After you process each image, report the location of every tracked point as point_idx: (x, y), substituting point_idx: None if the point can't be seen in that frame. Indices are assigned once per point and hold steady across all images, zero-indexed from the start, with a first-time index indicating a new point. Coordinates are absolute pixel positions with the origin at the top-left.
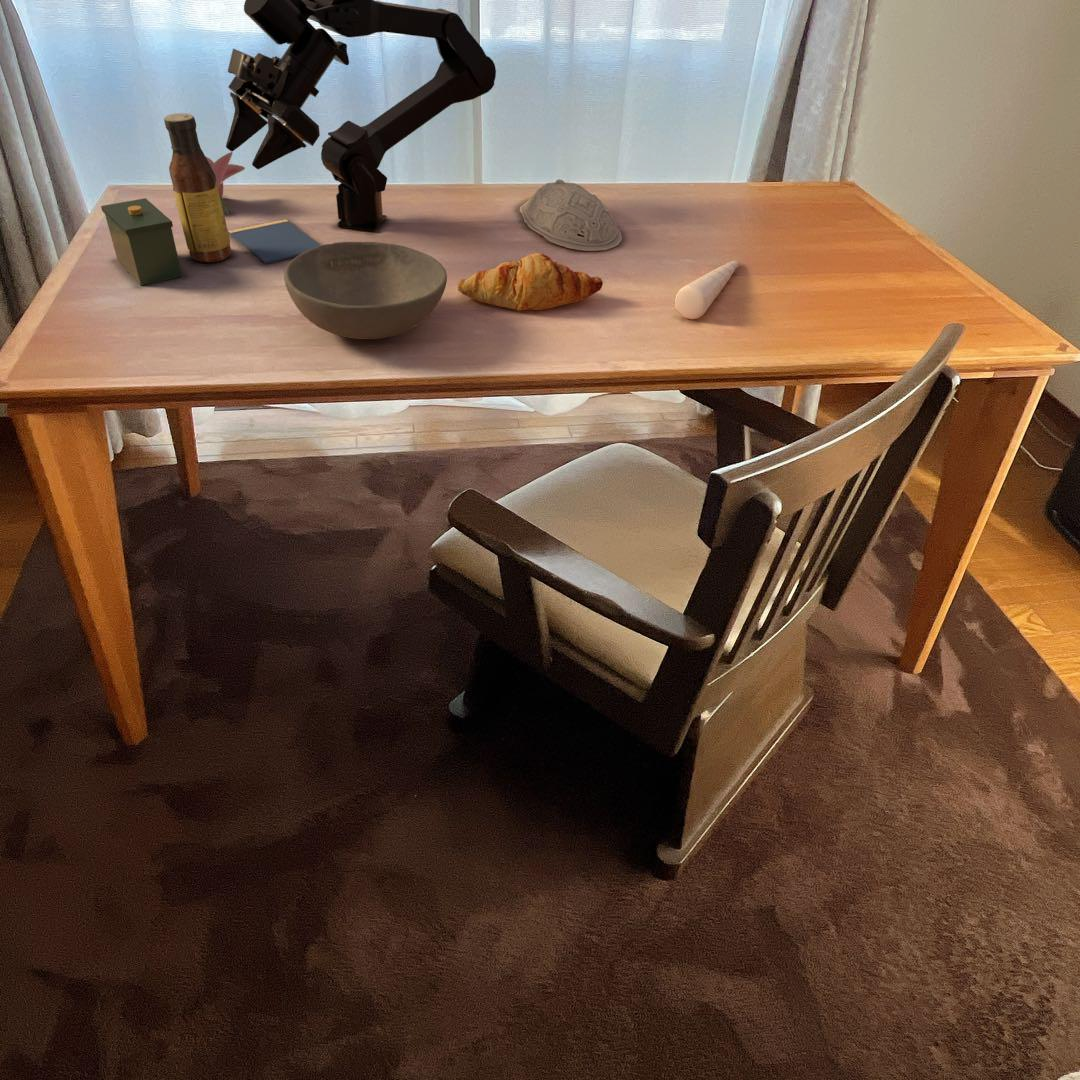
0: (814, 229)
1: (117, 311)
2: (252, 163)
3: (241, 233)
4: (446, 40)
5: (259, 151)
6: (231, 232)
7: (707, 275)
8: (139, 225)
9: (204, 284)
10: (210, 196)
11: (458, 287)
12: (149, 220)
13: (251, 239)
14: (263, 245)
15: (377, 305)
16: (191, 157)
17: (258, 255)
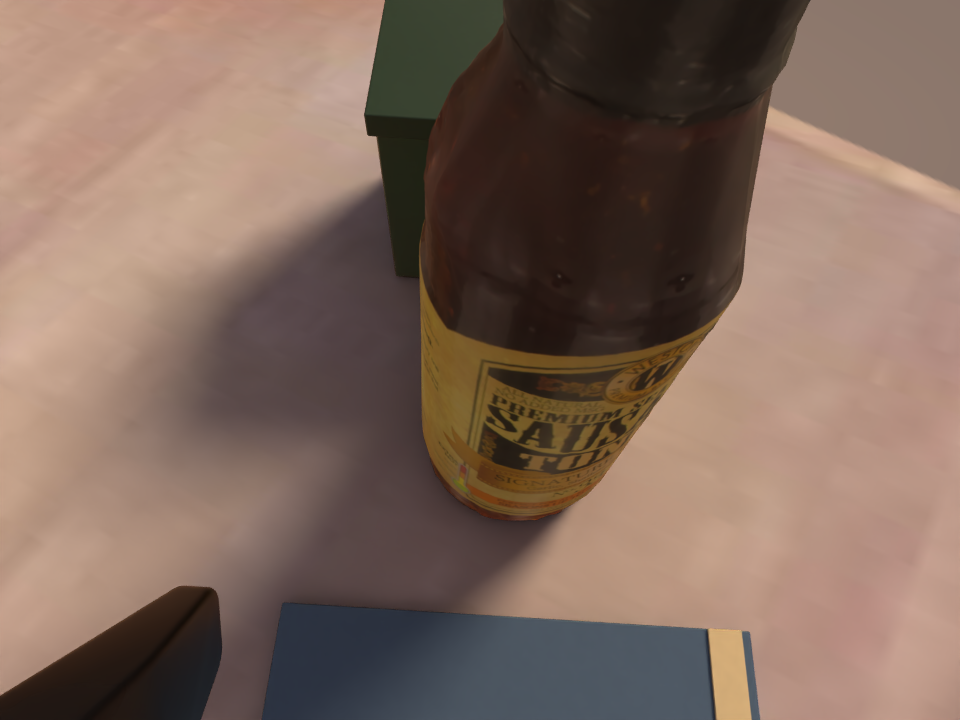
0: None
1: (291, 63)
2: (191, 587)
3: (683, 679)
4: None
5: (36, 704)
6: (710, 633)
7: None
8: (405, 14)
9: (283, 308)
10: (423, 303)
11: None
12: (436, 56)
13: (578, 685)
14: (468, 701)
15: None
16: (493, 44)
17: (368, 610)
